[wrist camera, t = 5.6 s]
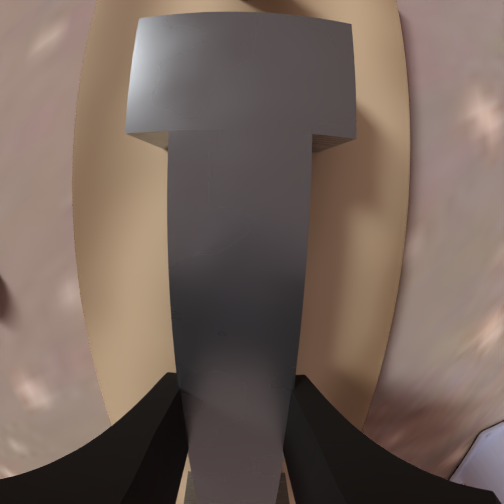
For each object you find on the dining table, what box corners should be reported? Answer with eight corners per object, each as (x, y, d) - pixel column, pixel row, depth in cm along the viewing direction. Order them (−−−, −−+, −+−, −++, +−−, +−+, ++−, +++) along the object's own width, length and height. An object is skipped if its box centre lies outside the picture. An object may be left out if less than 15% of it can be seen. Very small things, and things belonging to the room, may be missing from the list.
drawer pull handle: (318, 69, 9) (351, 24, 5) (279, 498, 13) (285, 544, 10) (169, 65, 9) (139, 18, 5) (193, 497, 13) (188, 543, 10)
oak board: (379, -5, 9) (422, -55, 5) (317, 511, 16) (327, 556, 12) (116, -13, 9) (80, -65, 4) (157, 509, 16) (148, 554, 11)
